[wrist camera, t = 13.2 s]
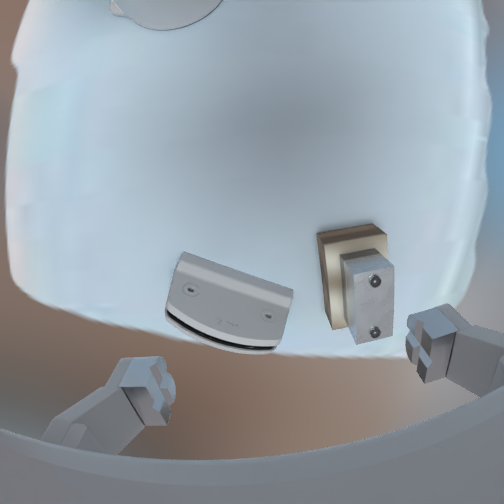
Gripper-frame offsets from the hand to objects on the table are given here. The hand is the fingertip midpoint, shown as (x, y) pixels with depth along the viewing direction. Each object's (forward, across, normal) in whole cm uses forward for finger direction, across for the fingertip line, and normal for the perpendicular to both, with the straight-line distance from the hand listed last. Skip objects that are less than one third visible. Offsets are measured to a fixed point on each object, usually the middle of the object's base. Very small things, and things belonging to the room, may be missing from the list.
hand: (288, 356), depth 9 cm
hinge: (+32, +7, +13) cm, 35 cm away
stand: (+31, -10, +12) cm, 35 cm away
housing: (+26, -10, +12) cm, 30 cm away
